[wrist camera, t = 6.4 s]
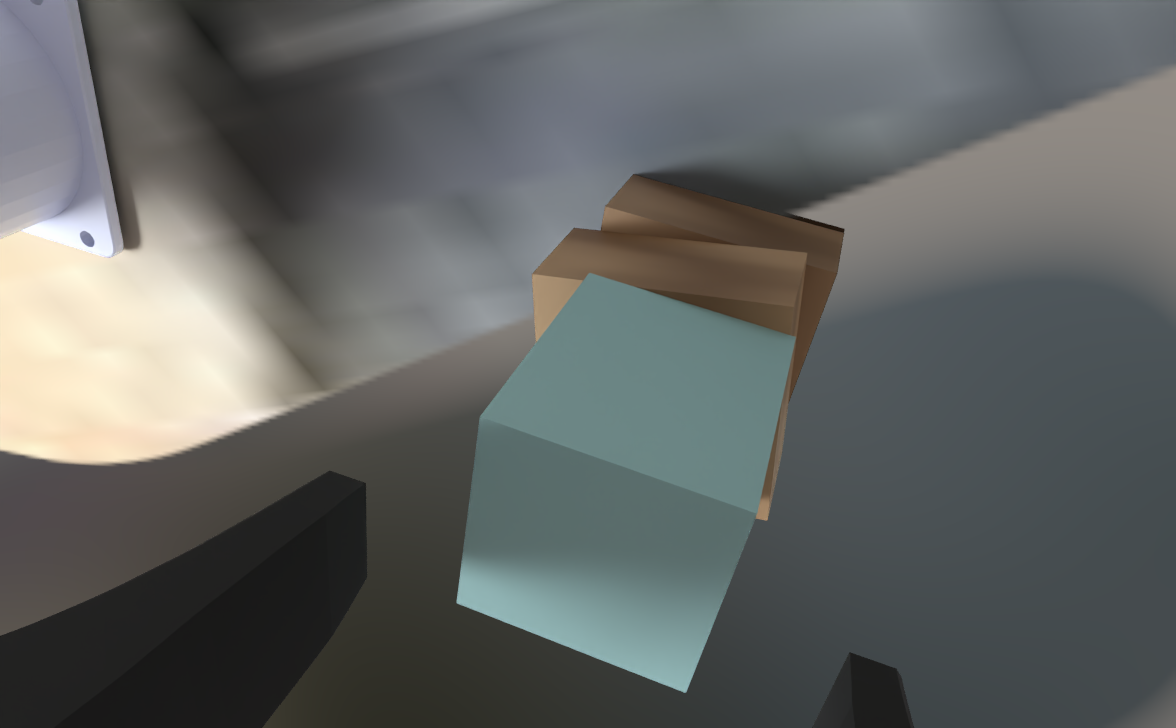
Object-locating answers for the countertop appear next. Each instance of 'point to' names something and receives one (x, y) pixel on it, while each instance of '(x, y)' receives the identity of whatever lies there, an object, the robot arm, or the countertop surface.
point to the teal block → (623, 476)
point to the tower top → (684, 289)
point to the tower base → (733, 238)
